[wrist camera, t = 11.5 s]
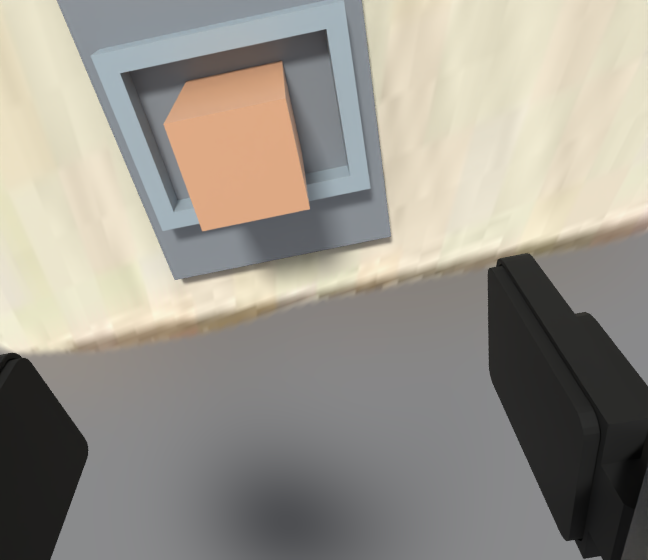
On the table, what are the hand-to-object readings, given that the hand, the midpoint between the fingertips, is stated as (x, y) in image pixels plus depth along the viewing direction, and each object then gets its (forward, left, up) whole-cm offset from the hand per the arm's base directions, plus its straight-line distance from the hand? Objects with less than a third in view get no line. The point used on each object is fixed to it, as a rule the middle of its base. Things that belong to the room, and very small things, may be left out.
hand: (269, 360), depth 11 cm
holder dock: (+2, +1, -21) cm, 21 cm away
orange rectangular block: (+1, +1, -20) cm, 20 cm away
